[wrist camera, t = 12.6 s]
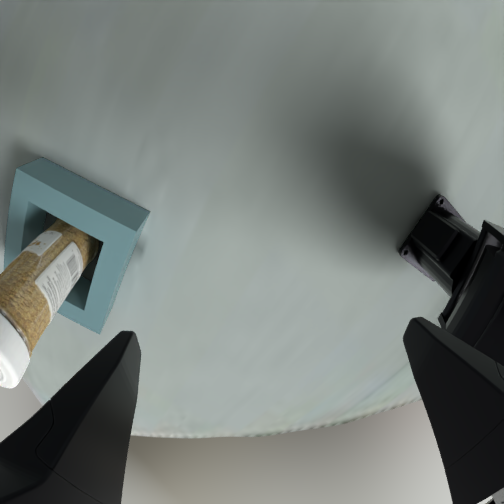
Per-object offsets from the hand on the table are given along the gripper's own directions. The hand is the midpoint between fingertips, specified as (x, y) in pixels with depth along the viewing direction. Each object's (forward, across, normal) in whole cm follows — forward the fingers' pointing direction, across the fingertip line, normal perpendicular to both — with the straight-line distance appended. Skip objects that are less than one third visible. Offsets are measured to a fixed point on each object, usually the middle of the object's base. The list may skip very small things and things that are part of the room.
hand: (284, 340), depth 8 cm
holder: (+13, +14, +2) cm, 19 cm away
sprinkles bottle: (+13, +14, +2) cm, 19 cm away
